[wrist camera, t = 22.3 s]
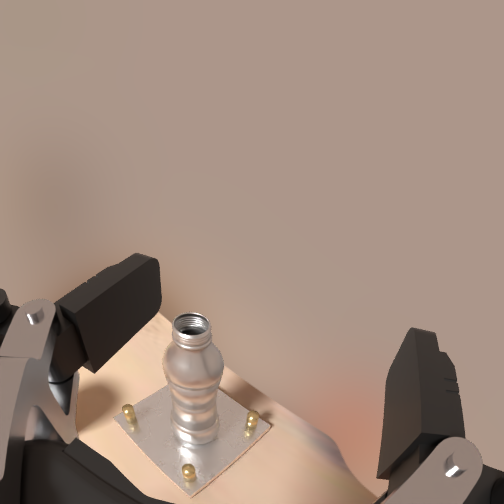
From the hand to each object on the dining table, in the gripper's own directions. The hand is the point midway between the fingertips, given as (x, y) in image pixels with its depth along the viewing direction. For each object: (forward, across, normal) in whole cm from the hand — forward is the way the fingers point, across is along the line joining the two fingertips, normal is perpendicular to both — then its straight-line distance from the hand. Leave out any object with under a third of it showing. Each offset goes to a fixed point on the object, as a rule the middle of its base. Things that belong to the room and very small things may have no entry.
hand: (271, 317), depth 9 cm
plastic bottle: (+12, +10, +33) cm, 37 cm away
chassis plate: (+12, +11, +34) cm, 38 cm away
